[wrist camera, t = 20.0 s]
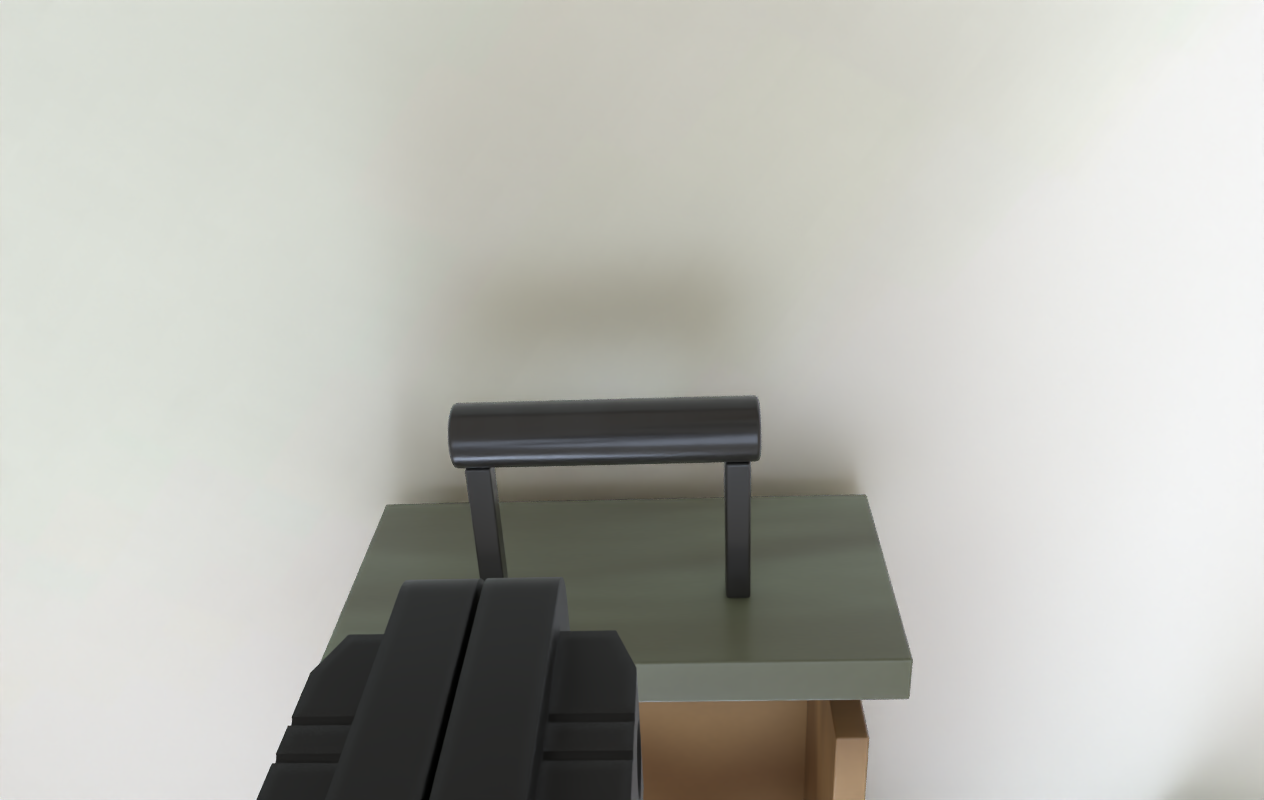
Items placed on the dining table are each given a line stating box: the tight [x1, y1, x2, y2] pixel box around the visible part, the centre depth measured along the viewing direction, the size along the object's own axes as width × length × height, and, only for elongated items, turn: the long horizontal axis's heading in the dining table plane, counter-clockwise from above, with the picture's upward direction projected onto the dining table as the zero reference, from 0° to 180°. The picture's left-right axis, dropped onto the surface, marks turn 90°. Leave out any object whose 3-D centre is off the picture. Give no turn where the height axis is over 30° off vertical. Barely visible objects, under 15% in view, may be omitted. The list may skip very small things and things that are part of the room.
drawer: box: [320, 395, 913, 800], centre depth 30 cm, size 20×14×7 cm
